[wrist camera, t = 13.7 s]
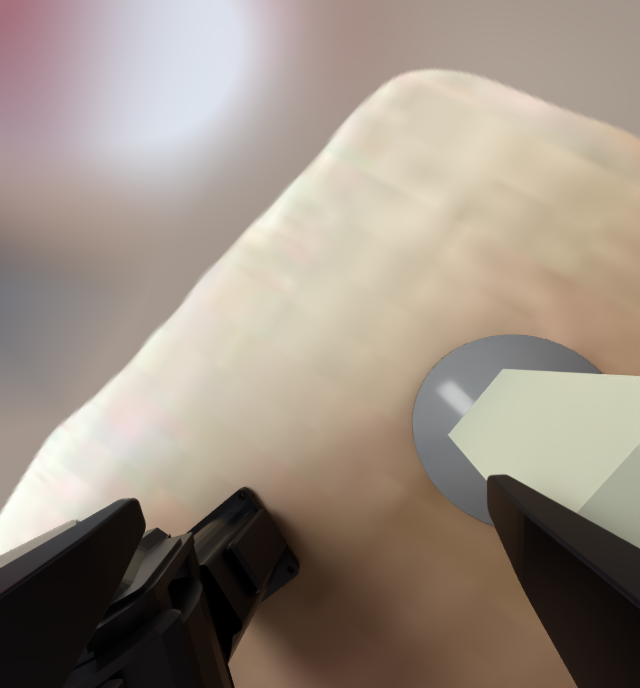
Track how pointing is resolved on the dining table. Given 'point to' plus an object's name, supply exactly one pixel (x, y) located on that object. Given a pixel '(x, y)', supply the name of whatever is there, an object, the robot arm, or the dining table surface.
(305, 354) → the dining table surface
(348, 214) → the dining table surface
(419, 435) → the slate coaster
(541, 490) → the block
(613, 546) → the robot arm
